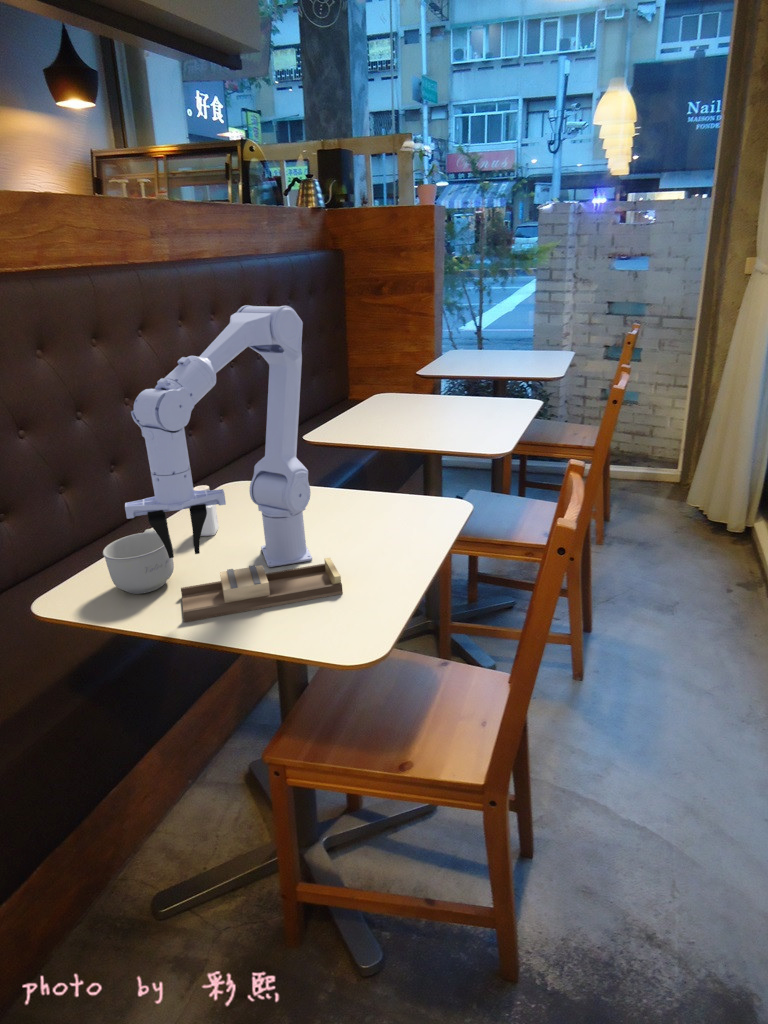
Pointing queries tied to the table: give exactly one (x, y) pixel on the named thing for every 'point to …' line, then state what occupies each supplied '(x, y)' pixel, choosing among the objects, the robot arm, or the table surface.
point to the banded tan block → (244, 583)
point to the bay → (282, 591)
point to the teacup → (138, 562)
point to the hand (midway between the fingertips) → (184, 553)
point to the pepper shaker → (209, 516)
